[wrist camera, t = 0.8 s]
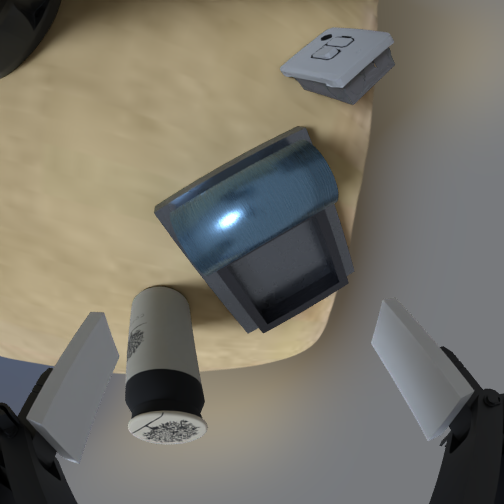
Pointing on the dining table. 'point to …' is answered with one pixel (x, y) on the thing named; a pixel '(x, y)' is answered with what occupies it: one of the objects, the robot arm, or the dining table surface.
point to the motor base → (274, 255)
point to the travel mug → (163, 370)
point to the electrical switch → (342, 63)
